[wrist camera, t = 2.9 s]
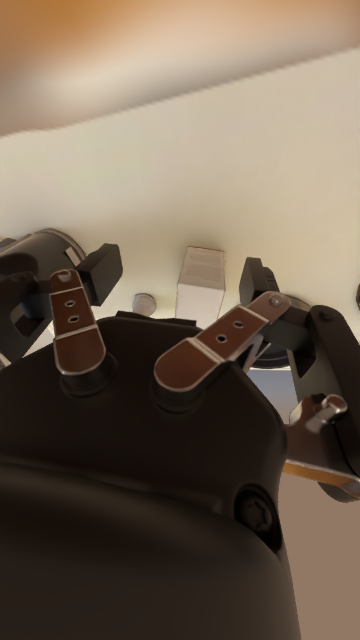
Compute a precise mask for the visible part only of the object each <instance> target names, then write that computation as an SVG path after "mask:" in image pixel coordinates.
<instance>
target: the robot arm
mask: <svg viewBox="0 0 360 640" xmlns="http://www.w3.org/2000/svg"><path fill="white" fill-rule="evenodd" d="M122 272H123V267H122V262H121V256H120V250H119V247H118V245H117V244H108V243H105V244H103V245H102V246H101V247H100V248H99V249H98V250H96V251H94V252H92V253H90V254H89V255H88V256H87V257H85V255H84V253H83V251H82V250H81V249H80V247H79V246H78V245H77V244H76V243H75V242H74V241H73V240H72V239H71V238H69V237H68V236H66V235H65V234H63V233H61V232H58V231H55V230H51V229H44V230H40V231H38V232H36V233H34V234H33V235H31V234H28V235H26V236H25V237H23V238H21V239H19V240H14V239H9V238H7V239H5V240H3V241H1V242H0V640H301V634H300V628H299V622H298V615H297V609H296V602H295V596H294V590H293V583H292V577H291V571H290V566H289V561H288V556H287V551H286V547H285V543H284V538H283V534H282V529H281V525H280V519H279V512H278V490H279V482H280V477H281V473H282V472H283V473H287V474H291V475H295V476H299V477H303V478H307V479H310V480H314V481H317V482H318V484H319V485H320V486H321V488H322V489H323V490H324V491H325V492H326V493H327V494H328V495H329V496H330V497H332V498H334V499H335V500H337V501H339V502H344V503H348V502H353V501H358V500H360V345H359V343H358V342H357V340H356V338H355V336H354V334H353V333H352V331H351V329H350V327H349V326H348V324H347V322H346V320H345V319H344V317H343V315H342V314H341V313H339V312H338V311H337V310H335V309H333V308H331V307H328V306H323V305H315V306H312V307H311V308H310V310H309V312H308V311H305V310H301V309H298V308H295V307H293V306H291V304H292V303H291V300H290V299H289V297H287V296H286V295H284V294H282V293H280V291H279V288H278V285H277V282H276V280H275V277H274V274H273V272H272V271H271V270H270V269H269V268H268V267H263V266H262V263H261V259H260V258H252V257H247V258H246V261H245V265H244V269H243V272H242V276H241V280H240V285H239V293H240V302H241V305H240V304H239V305H237V306H236V307H234V308H233V309H231V310H230V311H229V312H227V313H226V314H225V315H223V316H222V317H221V318H219V319H218V320H217V321H215V322H214V323H212V324H211V325H210V326H208V327H207V328H206V329H202V328H200V327H197V326H196V323H197V320H189V319H181V318H168V319H153V318H150V317H147V316H144V315H141V314H138V313H133V312H125V311H118V312H117V314H116V315H115V316H112V317H106V318H102V319H99V320H95V317H94V315H93V312H92V309H91V306H99V307H100V306H101V305H102V304H103V302H104V301H105V299H106V298H107V296H108V295H109V293H110V292H111V291H112V289H113V288H114V286H115V285H116V283H117V282H118V281H119V279H120V278H121V276H122ZM52 320H53V326H54V333H55V338H54V339H53V343H51V344H49V345H47V346H45V347H43V348H41V349H39V350H37V351H35V352H33V353H31V354H29V355H27V356H25V357H24V358H22V357H23V356H24V355H25V353H26V352H27V351H28V350H29V349H30V347H31V346H32V345H33V344H34V342H35V341H36V340H37V338H38V337H39V336H40V335H41V334H42V332H43V331H44V330H45V329H46V327H47V326H48V325H49V324H50V322H51V321H52ZM271 343H272V344H274V345H277V346H280V347H282V348H285V349H287V353H288V358H289V363H290V367H291V372H292V376H293V381H294V385H295V390H296V395H297V399H298V405H297V406H296V407H295V408H294V409H293V410H292V411H291V413H290V416H289V424H284V423H283V421H282V419H281V417H280V415H279V413H278V412H277V410H276V409H275V408H274V406H273V405H272V404H271V403H270V402H269V401H268V399H267V398H266V397H265V396H264V395H263V393H262V392H261V391H260V390H259V389H258V388H257V386H256V385H255V384H254V383H253V382H252V380H251V379H250V378H249V377H248V376H247V375H246V373H247V372H248V370H249V369H250V367H251V366H252V364H253V363H254V362H255V361H256V360H257V359H258V358H259V357H260V355H261V354H262V353H263V352H264V351H265V350H266V349H267V348H268V347H269V346H270V345H271Z"/></svg>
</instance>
